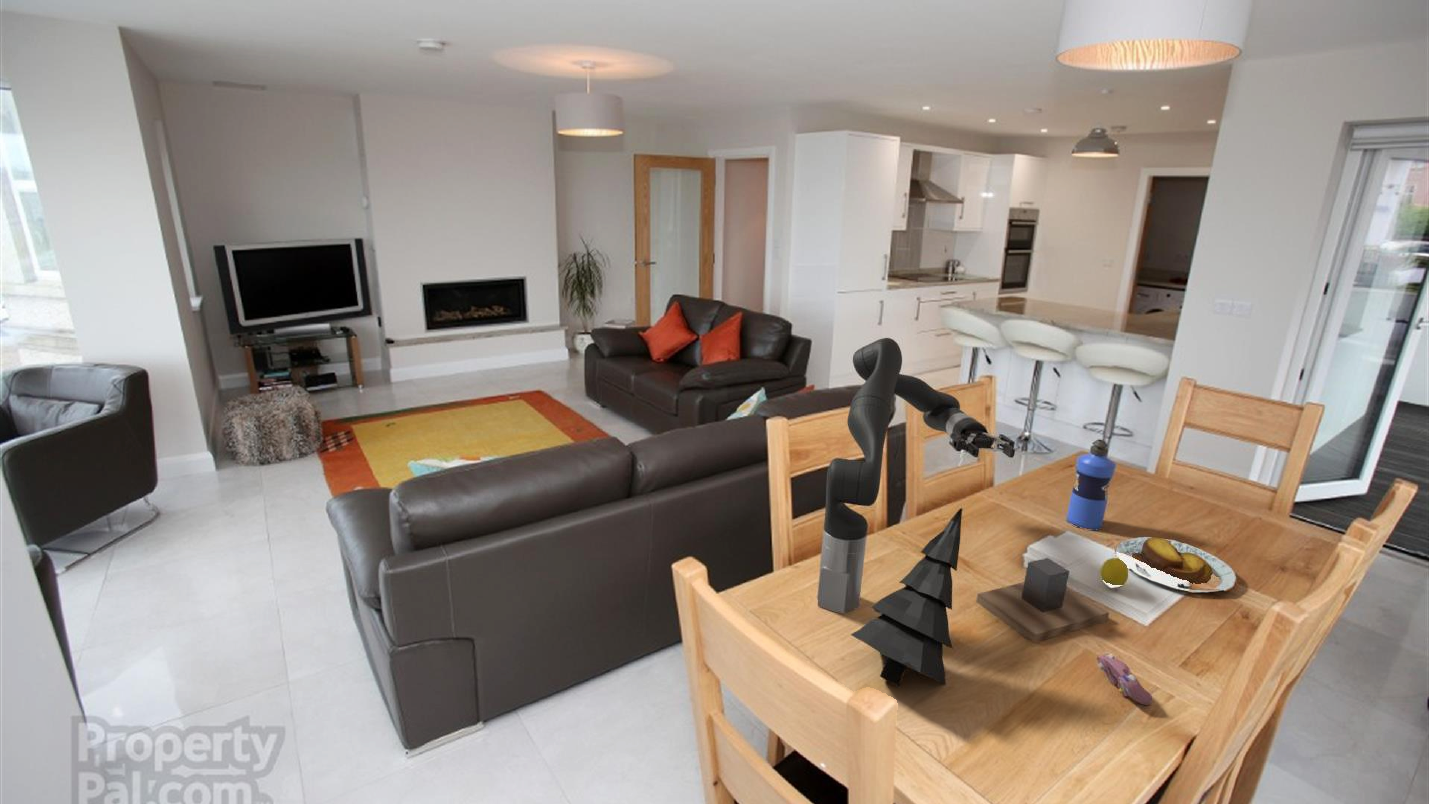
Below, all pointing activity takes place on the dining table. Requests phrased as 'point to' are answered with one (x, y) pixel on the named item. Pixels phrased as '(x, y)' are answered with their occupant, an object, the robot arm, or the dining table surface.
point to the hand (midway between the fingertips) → (994, 453)
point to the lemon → (1114, 571)
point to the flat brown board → (1038, 623)
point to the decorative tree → (918, 612)
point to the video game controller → (1123, 679)
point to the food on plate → (1180, 561)
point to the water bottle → (1091, 487)
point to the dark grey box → (1045, 584)
